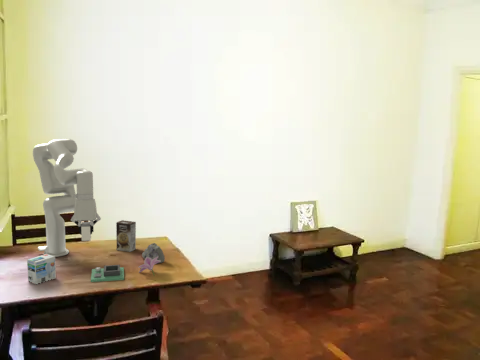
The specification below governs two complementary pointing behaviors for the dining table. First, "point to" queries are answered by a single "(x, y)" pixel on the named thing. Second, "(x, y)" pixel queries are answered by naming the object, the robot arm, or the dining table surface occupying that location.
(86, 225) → the plug
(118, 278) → the board
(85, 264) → the dining table surface
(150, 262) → the lily
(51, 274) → the light bulb box
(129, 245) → the coffee box
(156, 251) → the mineral rock
